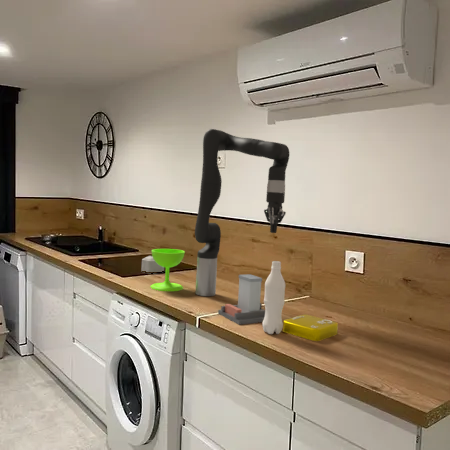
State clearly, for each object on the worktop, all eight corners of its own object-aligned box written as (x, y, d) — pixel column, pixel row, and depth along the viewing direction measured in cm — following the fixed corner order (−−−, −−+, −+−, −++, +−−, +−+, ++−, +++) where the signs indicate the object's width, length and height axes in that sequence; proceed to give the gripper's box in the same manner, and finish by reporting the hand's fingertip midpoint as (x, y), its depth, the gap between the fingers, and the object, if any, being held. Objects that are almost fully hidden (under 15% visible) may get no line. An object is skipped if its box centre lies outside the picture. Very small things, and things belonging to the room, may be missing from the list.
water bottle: (266, 335, 163) (270, 263, 161) (259, 329, 169) (263, 259, 168) (285, 335, 164) (290, 263, 163) (277, 328, 171) (282, 260, 169)
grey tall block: (236, 310, 188) (238, 274, 187) (248, 309, 190) (250, 274, 189) (248, 315, 180) (250, 278, 179) (260, 314, 183) (262, 278, 182)
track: (218, 313, 188) (218, 302, 188) (256, 309, 197) (257, 299, 197) (238, 324, 174) (239, 312, 174) (279, 320, 183) (279, 308, 183)
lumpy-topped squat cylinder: (139, 271, 272) (139, 256, 271) (156, 269, 281) (157, 254, 281) (150, 274, 265) (151, 258, 264) (168, 271, 274) (169, 256, 274)
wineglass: (167, 293, 220) (168, 254, 218) (143, 287, 229) (144, 250, 228) (190, 288, 232) (191, 251, 231) (166, 283, 242) (167, 247, 241)
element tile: (304, 324, 180) (304, 312, 180) (339, 334, 170) (340, 321, 169) (280, 332, 169) (281, 318, 169) (316, 343, 159) (317, 329, 158)
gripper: (259, 190, 202) (257, 231, 204) (277, 191, 191) (275, 234, 192) (274, 191, 206) (271, 231, 208) (292, 192, 195) (290, 234, 196)
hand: (273, 232), depth 200 cm, fingers closed
